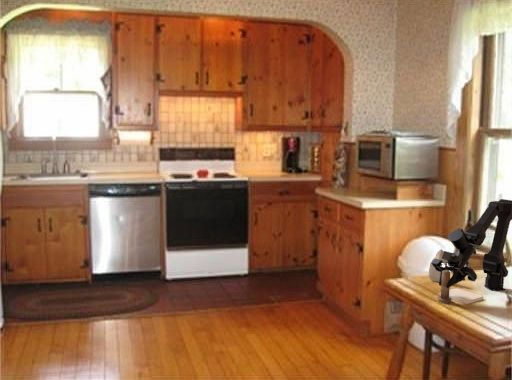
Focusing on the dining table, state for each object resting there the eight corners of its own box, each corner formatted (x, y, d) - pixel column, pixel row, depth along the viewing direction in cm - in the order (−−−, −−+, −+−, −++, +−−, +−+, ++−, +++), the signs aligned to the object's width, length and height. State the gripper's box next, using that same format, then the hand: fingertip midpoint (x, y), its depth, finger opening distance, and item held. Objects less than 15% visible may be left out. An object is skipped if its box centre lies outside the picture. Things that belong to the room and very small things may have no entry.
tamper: (443, 298, 221) (445, 269, 220) (453, 302, 217) (455, 272, 216) (435, 300, 219) (437, 270, 217) (445, 304, 214) (447, 273, 213)
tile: (456, 290, 232) (456, 288, 232) (483, 299, 221) (483, 296, 221) (439, 295, 226) (439, 292, 226) (466, 304, 215) (466, 301, 215)
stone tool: (447, 281, 246) (449, 249, 244) (447, 283, 243) (449, 250, 241) (428, 279, 249) (429, 247, 247) (427, 281, 246) (429, 248, 244)
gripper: (435, 239, 225) (415, 269, 220) (474, 248, 209) (454, 280, 205) (446, 255, 230) (427, 284, 226) (485, 265, 215) (466, 297, 210)
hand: (443, 286), depth 216 cm, fingers closed on tamper, 3 cm apart
